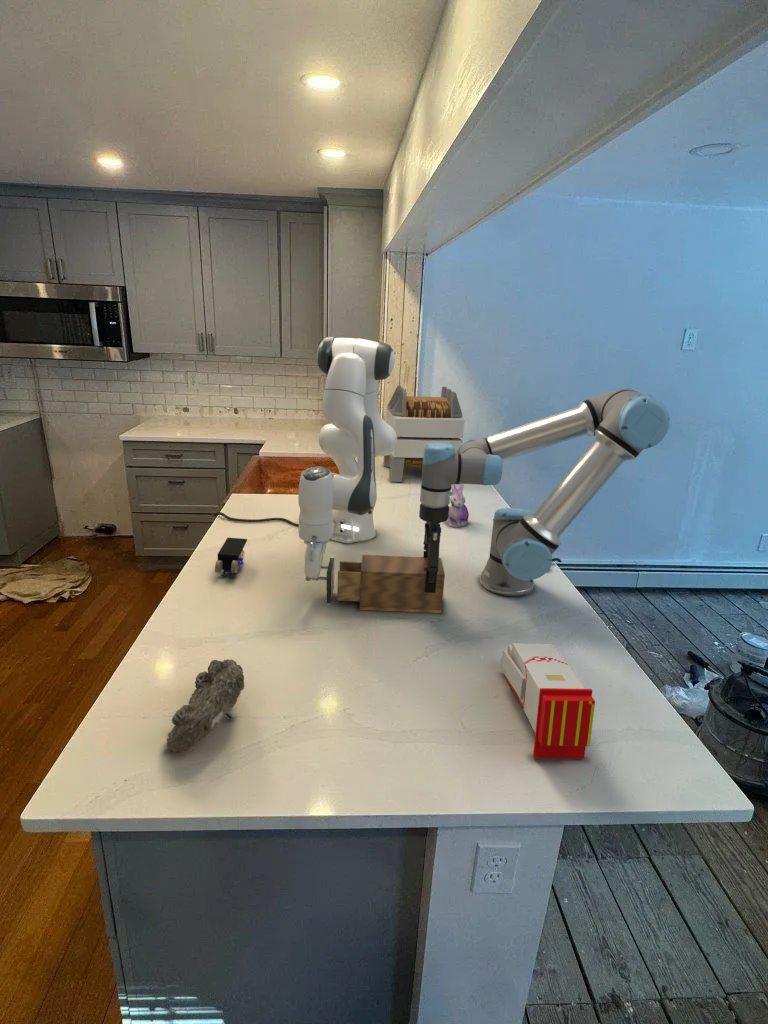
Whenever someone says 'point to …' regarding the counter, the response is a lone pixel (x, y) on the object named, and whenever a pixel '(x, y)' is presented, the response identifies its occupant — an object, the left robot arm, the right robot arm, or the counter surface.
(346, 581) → the drawer
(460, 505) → the figurine
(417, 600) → the cabinet
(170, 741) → the fossil
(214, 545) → the counter surface
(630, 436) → the right robot arm
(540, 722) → the toy
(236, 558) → the black wheeled block
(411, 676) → the counter surface
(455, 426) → the transformer
